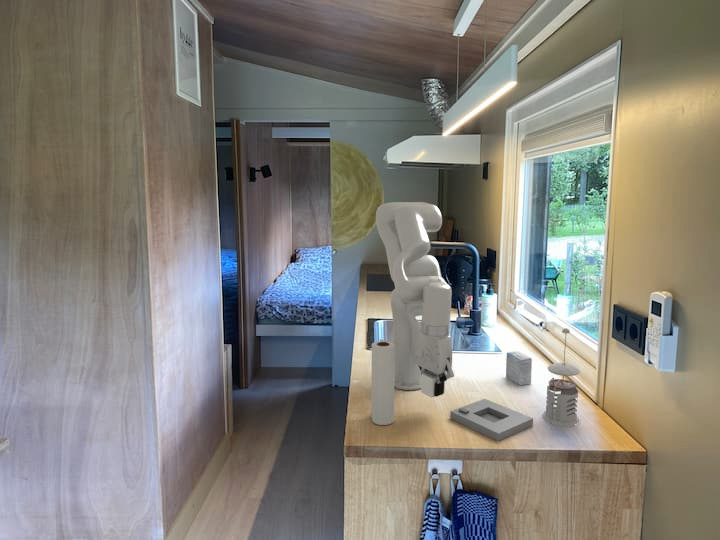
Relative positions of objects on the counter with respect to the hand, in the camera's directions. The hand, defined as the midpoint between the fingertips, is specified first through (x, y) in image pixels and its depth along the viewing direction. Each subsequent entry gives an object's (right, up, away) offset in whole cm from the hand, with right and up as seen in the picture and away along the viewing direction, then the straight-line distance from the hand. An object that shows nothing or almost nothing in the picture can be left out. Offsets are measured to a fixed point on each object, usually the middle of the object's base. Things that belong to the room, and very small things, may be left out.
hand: (432, 391), depth 139 cm
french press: (+34, -7, -3) cm, 34 cm away
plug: (0, 0, 0) cm, 0 cm away
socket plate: (+15, -7, -5) cm, 17 cm away
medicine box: (+31, -3, +25) cm, 40 cm away
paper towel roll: (-14, -7, -3) cm, 16 cm away
